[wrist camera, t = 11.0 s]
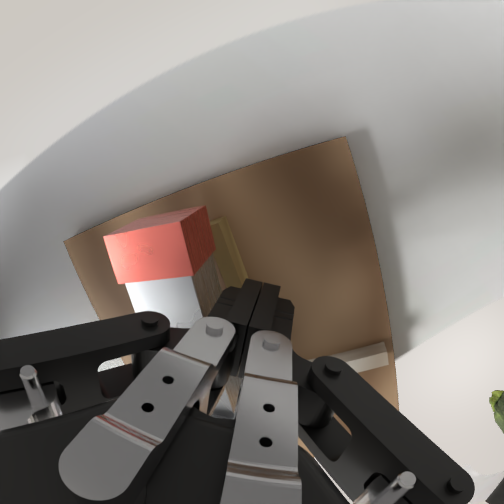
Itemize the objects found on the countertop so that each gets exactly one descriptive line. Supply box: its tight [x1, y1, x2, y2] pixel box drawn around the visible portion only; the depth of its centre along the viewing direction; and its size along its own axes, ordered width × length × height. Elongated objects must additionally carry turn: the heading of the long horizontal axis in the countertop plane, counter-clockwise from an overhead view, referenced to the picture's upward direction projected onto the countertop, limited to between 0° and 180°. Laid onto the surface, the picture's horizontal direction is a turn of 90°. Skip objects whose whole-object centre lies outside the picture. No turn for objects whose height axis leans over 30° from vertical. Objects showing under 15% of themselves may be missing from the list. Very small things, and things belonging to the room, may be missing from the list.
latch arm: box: [104, 205, 242, 419], centre depth 14 cm, size 14×4×3 cm, turn 12°
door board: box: [64, 136, 399, 458], centre depth 18 cm, size 18×22×3 cm
